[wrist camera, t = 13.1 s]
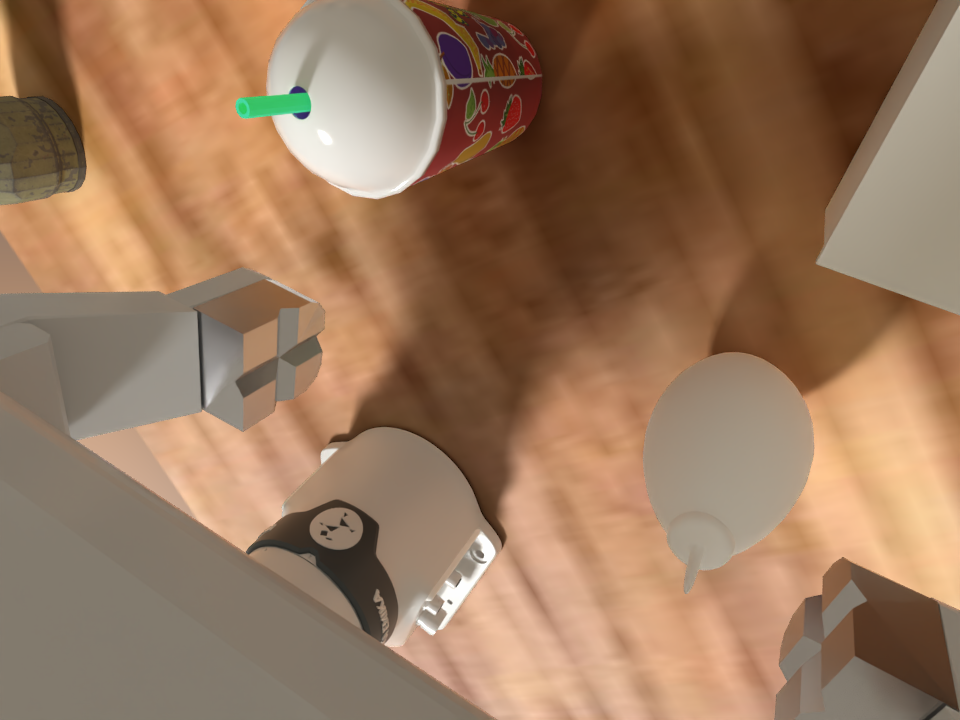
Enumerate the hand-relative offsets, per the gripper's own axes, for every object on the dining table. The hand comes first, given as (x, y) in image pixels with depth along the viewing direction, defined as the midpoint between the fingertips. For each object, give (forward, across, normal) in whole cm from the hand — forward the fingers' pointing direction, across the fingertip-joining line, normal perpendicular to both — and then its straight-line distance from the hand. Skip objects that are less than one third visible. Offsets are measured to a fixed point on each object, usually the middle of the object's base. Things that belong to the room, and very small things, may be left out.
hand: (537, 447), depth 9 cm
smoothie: (+29, +15, 0) cm, 33 cm away
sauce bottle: (+29, -5, +12) cm, 32 cm away
